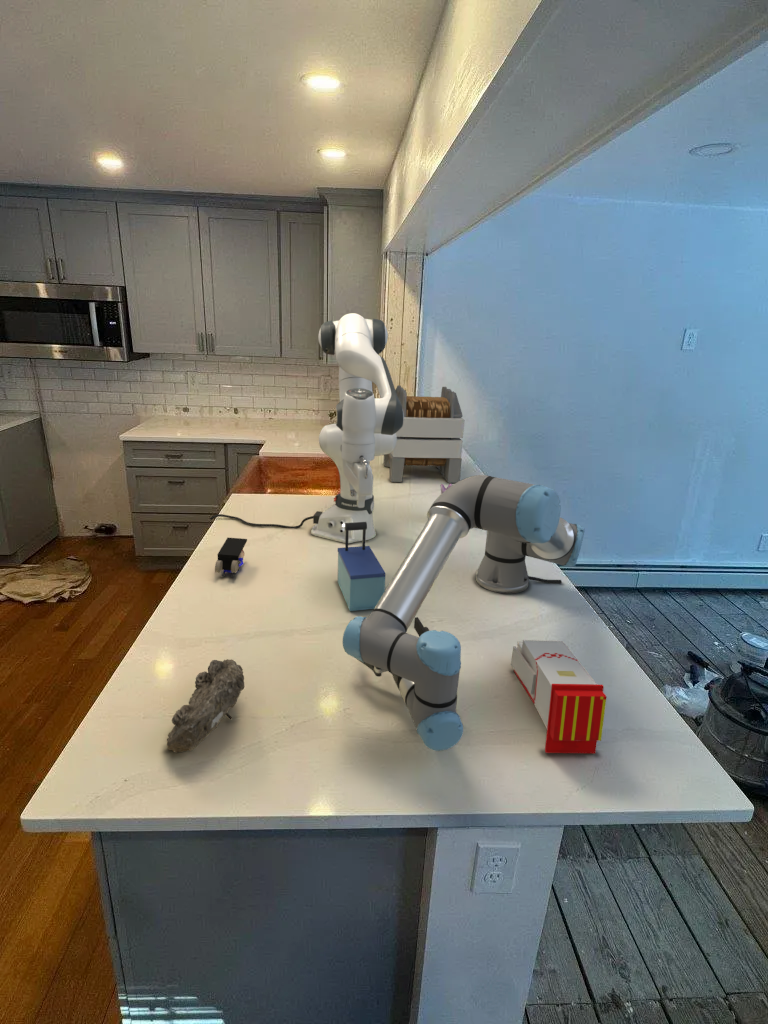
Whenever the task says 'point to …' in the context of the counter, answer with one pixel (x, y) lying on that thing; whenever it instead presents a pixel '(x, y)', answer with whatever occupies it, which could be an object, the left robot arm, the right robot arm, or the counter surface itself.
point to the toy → (561, 695)
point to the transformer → (428, 435)
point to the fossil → (206, 705)
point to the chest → (360, 589)
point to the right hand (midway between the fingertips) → (387, 625)
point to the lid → (360, 556)
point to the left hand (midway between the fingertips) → (356, 501)
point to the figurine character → (230, 556)
